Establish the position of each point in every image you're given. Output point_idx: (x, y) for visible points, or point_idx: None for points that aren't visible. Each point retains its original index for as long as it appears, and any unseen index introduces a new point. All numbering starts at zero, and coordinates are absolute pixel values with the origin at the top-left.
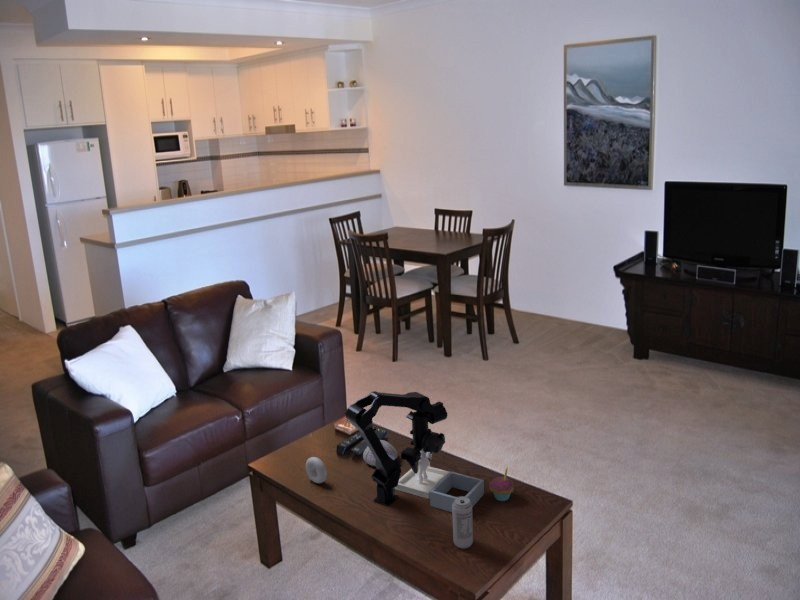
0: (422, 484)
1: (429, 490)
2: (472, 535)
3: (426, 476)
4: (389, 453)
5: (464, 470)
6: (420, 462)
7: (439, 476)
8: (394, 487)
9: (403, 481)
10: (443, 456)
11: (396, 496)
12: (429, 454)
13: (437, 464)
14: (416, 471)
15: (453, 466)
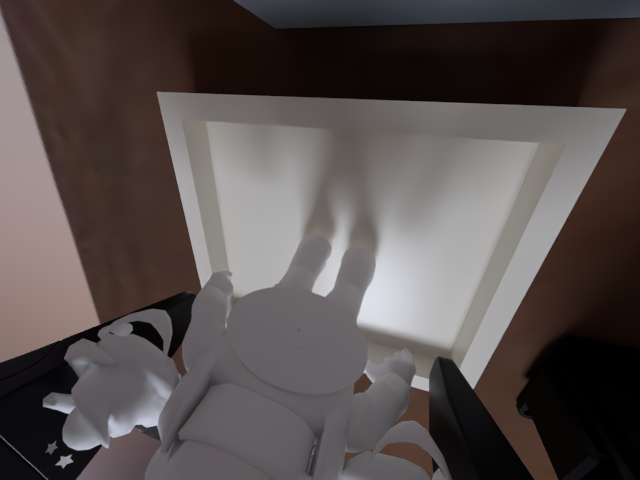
0: (375, 241)
1: (552, 126)
2: None
3: (313, 246)
4: None
5: (77, 45)
6: (342, 444)
7: (235, 170)
8: (581, 417)
9: (387, 348)
10: (85, 232)
11: (586, 352)
12: (92, 395)
13: (146, 235)
14: (473, 391)
15: (101, 145)
